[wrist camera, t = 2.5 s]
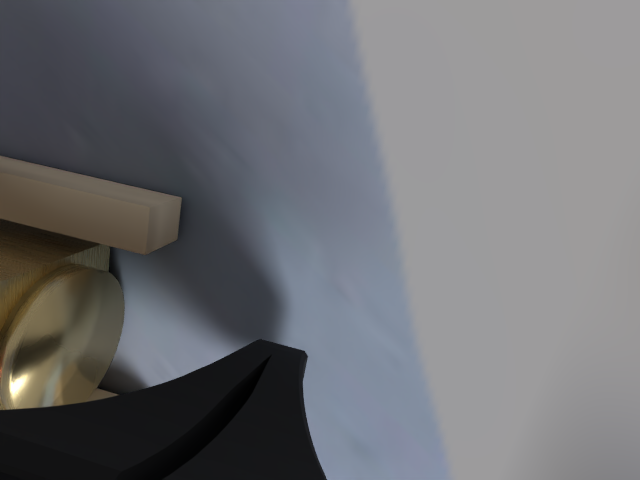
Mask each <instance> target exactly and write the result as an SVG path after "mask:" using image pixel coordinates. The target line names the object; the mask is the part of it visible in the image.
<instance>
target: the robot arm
mask: <svg viewBox="0 0 640 480" xmlns="http://www.w3.org/2000/svg"><path fill="white" fill-rule="evenodd" d="M307 358H308V356H307V354H306V353H305V351H303V350H299V349H295V348H292V347H288V346H284V345H280V344H277V343H273V342H269V341H266V340H262V339H259V340H257V341H255V342H253V343H251V344H249V345H247V346H245V347H243V348H241V349H239V350H238V351H236V352H234V353H232V354H230V355H228V356H226V357H224V358H222V359H220V360H218V361H216V362H214V363H212V364H210V365H207V366H205V367H203V368H200V369H198V370H196V371H193V372H191V373H189V374H186V375H184V376H182V377H179V378H176V379H174V380H171V381H168V382H165V383H162V384H159V385H156V386H152V387H149V388H146V389H142V390H139V391H135V392H130V393H126V394H122V395H117V396H113V397H109V398H104V399H99V400H94V401H87V402H81V403H75V404H67V405H59V406H50V407H39V408H23V409H8V410H0V480H327V479H326V476H325V474H324V472H323V469H322V467H321V465H320V463H319V460H318V458H317V455H316V452H315V449H314V446H313V443H312V439H311V436H310V432H309V428H308V423H307V418H306V412H305V406H304V398H303V378H304V373H305V368H306V363H307Z"/></svg>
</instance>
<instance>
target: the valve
mask: <svg viewBox="0 0 640 480" xmlns="http://www.w3.org/2000/svg"><path fill="white" fill-rule="evenodd" d="M109 258H110V246H108V245H104V244H100V243H96V242H92V241H88V240H84V239H80V238H76V237H72V236H68V235H64V234H60V233H56V232H52V231H48V230H44V229H40V228H36V227H32V226H28V225H24V224H20V223H16V222H12V221H8V220H4V219H0V410H8V409H23V408H39V407H50V406H59V405H67V404H75V403H81V402H86V401H87V400H88V398H89V397H90V396H91V395H92V393H93V392H94V391H95V389H96V388H97V386H98V385H99V384H100V382H101V380H102V379H103V377H104V375H105V374H106V372H107V370H108V368H109V366H110V364H111V362H112V359H113V357H114V355H115V352H116V349H117V346H118V343H119V340H120V336H121V333H122V328H123V322H124V297H123V292H122V289H121V286H120V284H119V282H118V281H117V279H116V278H115V277H114V276H113V275H112V274H111V273H109Z"/></svg>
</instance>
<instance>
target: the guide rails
mask: <svg viewBox="0 0 640 480" xmlns="http://www.w3.org/2000/svg"><path fill="white" fill-rule="evenodd" d="M181 201H182V198H181V197H177V196H173V195H168V194H164V193H160V192H155V191H151V190H147V189H142V188H138V187H134V186H129V185H125V184H121V183H116V182H112V181H108V180H103V179H99V178H95V177H90V176H86V175H82V174H77V173H73V172H69V171H64V170H60V169H56V168H51V167H47V166H43V165H38V164H34V163H30V162H25V161H21V160H17V159H12V158H8V157H4V156H0V219H4V220H8V221H12V222H16V223H20V224H24V225H28V226H32V227H36V228H40V229H44V230H48V231H52V232H56V233H60V234H64V235H68V236H72V237H76V238H80V239H84V240H88V241H92V242H96V243H100V244H104V245H108V246H112V247H116V248H120V249H124V250H127V251H131V252H135V253H139V254H143V255H147V254H149V253H151V252H153V251H155V250H157V249H159V248H161V247H163V246H166V245H168V244H170V243H172V242H174V241H176V240H177V238H178V229H179V219H180V210H181ZM117 395H118V394H114V393H111V392H108V391H104V390H101V389H98V388H96V389H95V391H94V392H93V393H92V395H91V396H90V397H89V398H88V400H87V401H94V400H99V399H104V398H109V397H113V396H117ZM87 401H86V402H87Z"/></svg>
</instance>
